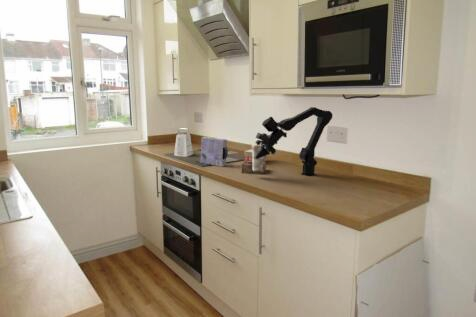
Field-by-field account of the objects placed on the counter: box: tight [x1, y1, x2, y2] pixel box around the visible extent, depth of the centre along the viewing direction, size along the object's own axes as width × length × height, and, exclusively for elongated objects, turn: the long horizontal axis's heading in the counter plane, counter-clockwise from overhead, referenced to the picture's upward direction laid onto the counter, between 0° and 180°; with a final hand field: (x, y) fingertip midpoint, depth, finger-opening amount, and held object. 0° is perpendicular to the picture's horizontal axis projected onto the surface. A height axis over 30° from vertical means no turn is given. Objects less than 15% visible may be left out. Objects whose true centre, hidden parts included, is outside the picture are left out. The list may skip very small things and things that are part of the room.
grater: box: [173, 127, 194, 158], centre depth 261 cm, size 10×10×20 cm
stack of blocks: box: [243, 143, 267, 163], centre depth 237 cm, size 21×6×12 cm, turn 150°
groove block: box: [241, 161, 267, 175], centre depth 212 cm, size 13×12×5 cm
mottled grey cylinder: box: [251, 144, 263, 171], centre depth 194 cm, size 5×4×14 cm
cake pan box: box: [200, 136, 229, 168], centre depth 228 cm, size 19×5×18 cm, turn 57°
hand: (255, 157), depth 194 cm, fingers closed on mottled grey cylinder, 4 cm apart
